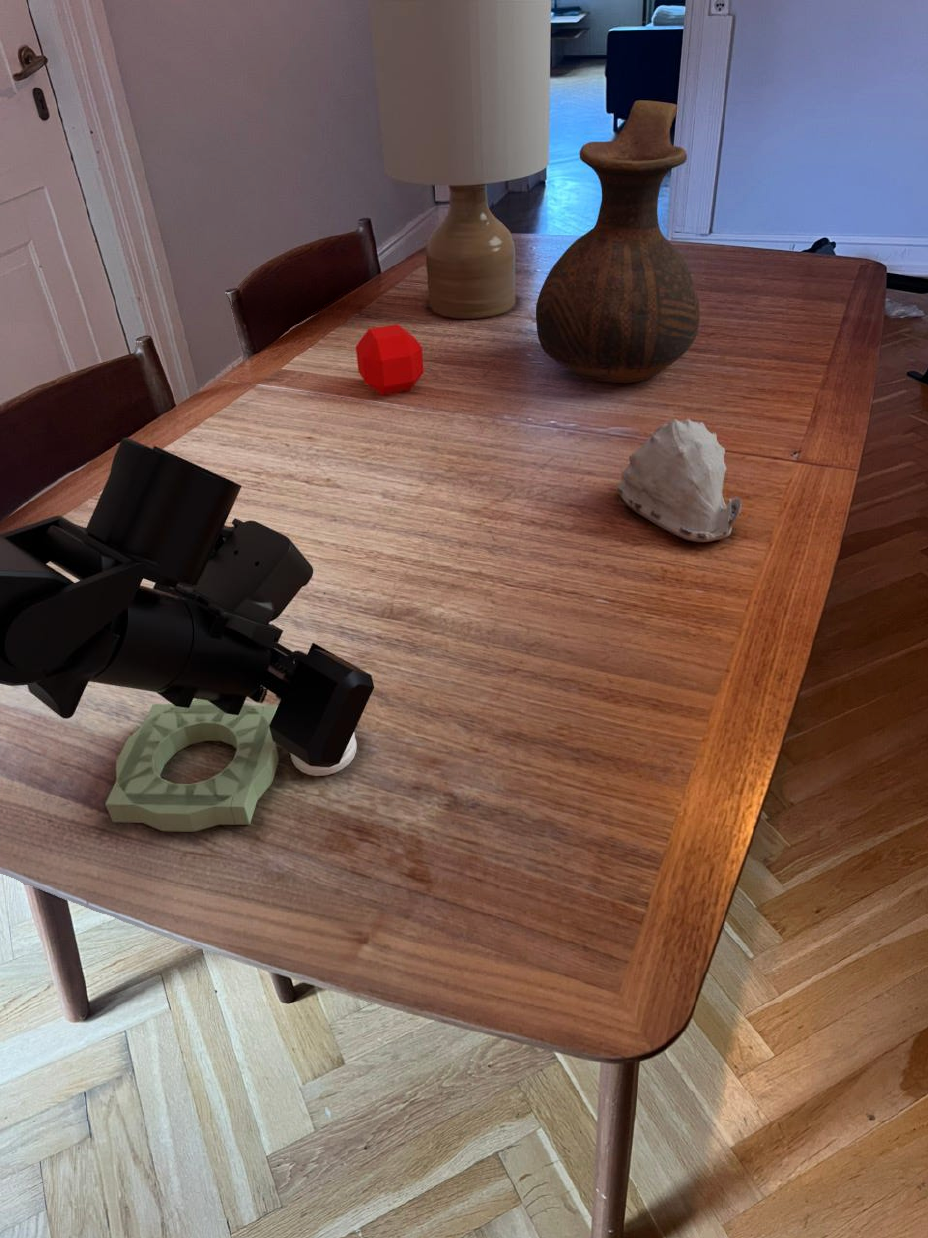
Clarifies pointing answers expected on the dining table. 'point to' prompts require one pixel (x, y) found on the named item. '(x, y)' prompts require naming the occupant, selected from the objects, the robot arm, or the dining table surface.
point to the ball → (389, 359)
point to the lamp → (464, 128)
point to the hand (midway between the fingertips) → (325, 678)
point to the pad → (202, 802)
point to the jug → (623, 265)
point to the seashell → (681, 482)
